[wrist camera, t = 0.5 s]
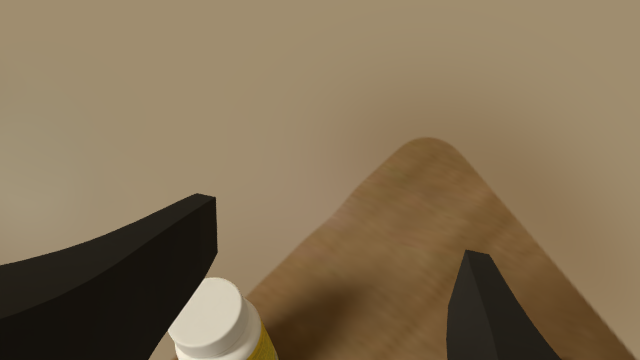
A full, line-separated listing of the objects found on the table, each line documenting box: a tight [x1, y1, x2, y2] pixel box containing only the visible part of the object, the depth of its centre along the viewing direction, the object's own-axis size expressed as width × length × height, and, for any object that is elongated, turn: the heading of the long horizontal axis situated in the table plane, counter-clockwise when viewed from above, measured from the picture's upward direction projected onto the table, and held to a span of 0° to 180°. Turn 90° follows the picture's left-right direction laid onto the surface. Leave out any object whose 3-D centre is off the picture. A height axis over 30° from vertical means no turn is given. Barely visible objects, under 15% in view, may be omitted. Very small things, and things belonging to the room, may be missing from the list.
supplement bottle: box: [168, 278, 280, 360], centre depth 26 cm, size 5×5×8 cm
